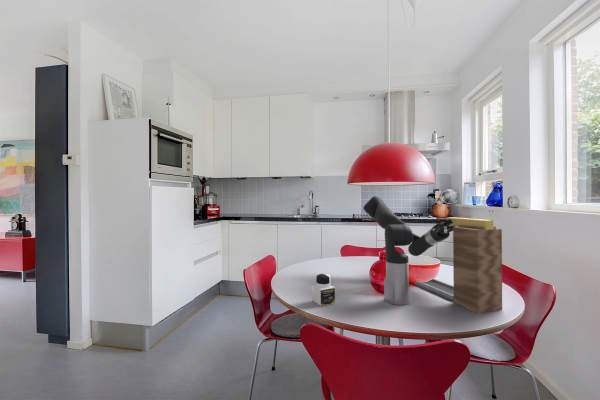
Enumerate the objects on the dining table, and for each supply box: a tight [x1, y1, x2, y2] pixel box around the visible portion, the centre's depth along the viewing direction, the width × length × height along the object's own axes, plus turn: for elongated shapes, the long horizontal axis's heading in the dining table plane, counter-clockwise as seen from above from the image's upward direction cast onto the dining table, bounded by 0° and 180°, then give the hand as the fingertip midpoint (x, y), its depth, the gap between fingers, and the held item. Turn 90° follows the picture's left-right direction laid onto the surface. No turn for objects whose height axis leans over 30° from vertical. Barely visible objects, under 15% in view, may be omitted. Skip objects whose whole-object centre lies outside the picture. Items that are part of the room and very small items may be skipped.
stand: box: [452, 225, 503, 314], centre depth 118 cm, size 12×12×33 cm
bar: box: [446, 216, 494, 230], centre depth 121 cm, size 4×20×4 cm, turn 15°
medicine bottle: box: [312, 273, 336, 307], centre depth 123 cm, size 7×7×12 cm
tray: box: [414, 278, 454, 302], centre depth 137 cm, size 11×25×2 cm, turn 15°
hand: (459, 220), depth 126 cm, fingers open, 8 cm apart
